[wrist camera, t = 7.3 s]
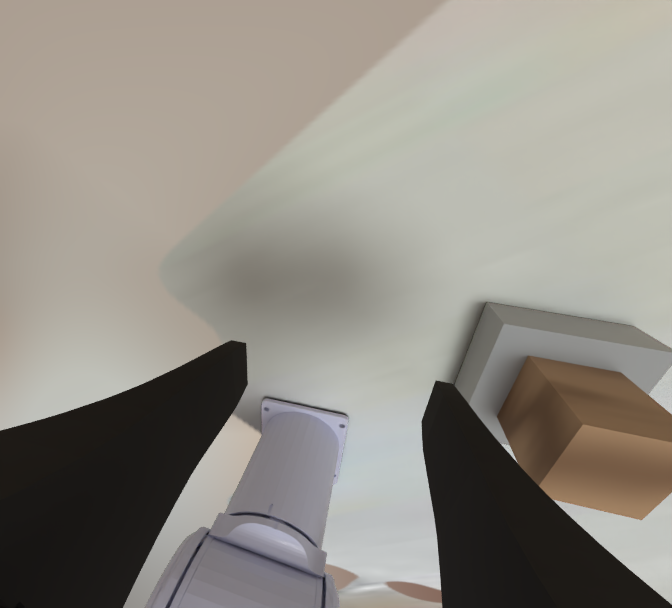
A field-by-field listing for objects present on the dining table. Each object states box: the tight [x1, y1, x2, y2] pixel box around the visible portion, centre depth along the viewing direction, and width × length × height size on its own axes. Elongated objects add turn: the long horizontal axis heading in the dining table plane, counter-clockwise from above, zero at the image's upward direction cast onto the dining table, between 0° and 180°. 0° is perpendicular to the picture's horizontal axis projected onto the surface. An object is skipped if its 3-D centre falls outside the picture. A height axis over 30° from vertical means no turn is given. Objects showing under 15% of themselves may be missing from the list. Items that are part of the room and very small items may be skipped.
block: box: [497, 355, 672, 520], centre depth 15 cm, size 5×5×5 cm
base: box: [454, 302, 672, 445], centre depth 18 cm, size 9×9×3 cm
